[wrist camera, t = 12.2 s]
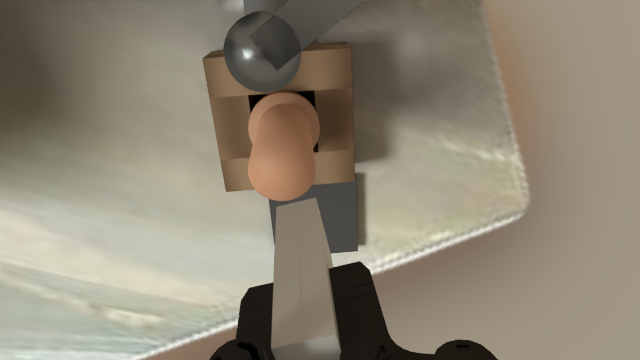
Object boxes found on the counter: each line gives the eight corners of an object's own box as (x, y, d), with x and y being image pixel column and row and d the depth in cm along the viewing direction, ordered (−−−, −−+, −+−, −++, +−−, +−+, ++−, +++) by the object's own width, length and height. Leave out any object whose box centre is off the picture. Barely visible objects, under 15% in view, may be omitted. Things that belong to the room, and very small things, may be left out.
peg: (257, 143, 41) (242, 214, 28) (249, 82, 38) (228, 130, 25) (318, 139, 41) (330, 207, 28) (314, 78, 38) (325, 123, 26)
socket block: (231, 174, 42) (201, 266, 28) (202, -4, 35) (142, 2, 21) (349, 164, 42) (377, 251, 28) (343, -14, 35) (377, -14, 21)
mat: (276, 252, 46) (276, 258, 45) (267, 180, 42) (266, 184, 41) (356, 245, 46) (357, 251, 46) (354, 173, 43) (355, 177, 42)
